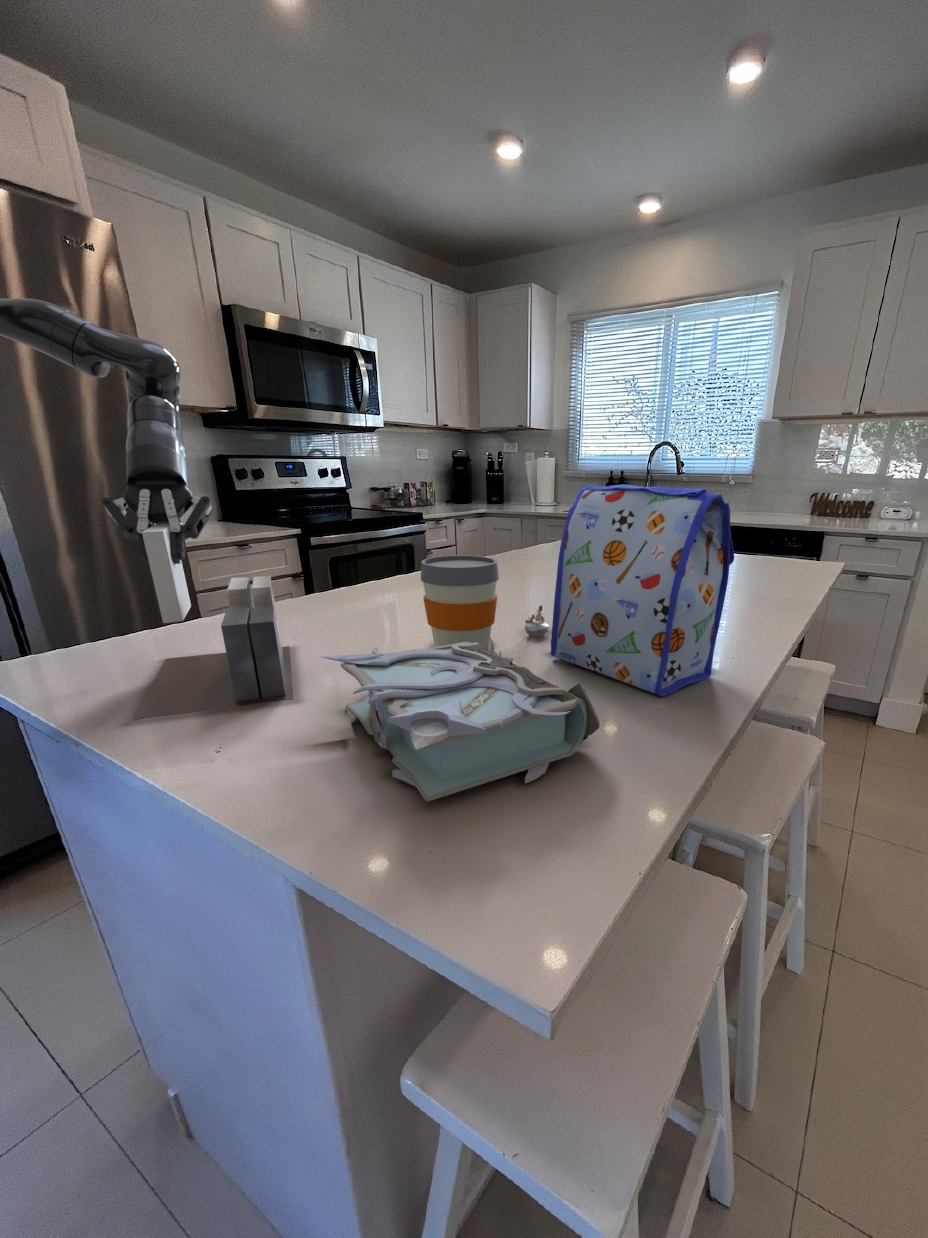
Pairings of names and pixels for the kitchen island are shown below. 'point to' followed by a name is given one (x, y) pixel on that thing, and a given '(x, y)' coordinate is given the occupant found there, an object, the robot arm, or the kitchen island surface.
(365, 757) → the kitchen island surface
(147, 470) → the robot arm
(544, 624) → the figurine
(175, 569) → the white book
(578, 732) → the ornate book
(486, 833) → the kitchen island surface
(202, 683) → the shelf board
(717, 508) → the lunch bag
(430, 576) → the reusable coffee cup
